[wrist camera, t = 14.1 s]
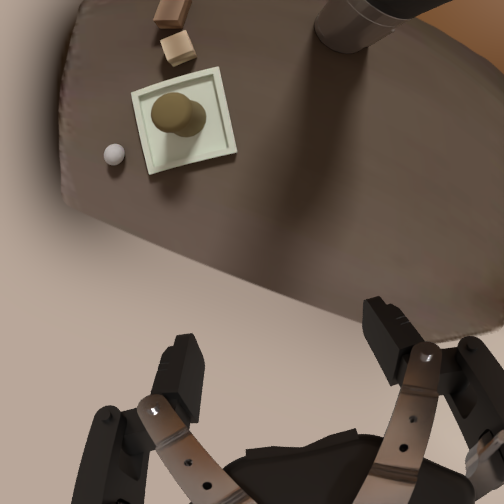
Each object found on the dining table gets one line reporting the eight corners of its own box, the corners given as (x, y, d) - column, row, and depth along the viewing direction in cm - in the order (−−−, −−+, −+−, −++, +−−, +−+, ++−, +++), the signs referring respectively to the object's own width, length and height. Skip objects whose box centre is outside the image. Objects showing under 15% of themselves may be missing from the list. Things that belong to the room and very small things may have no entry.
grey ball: (125, 140, 38) (116, 141, 35) (130, 160, 39) (121, 162, 36) (107, 147, 38) (98, 148, 35) (112, 166, 39) (103, 169, 36)
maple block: (190, 38, 32) (185, 30, 28) (197, 57, 33) (193, 49, 30) (166, 48, 32) (160, 40, 29) (173, 67, 34) (167, 60, 30)
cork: (212, 128, 38) (201, 123, 28) (175, 143, 38) (154, 144, 28) (198, 93, 35) (183, 78, 25) (162, 110, 36) (137, 101, 26)
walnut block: (192, 2, 29) (188, -9, 25) (182, 29, 31) (177, 20, 27) (169, 2, 28) (164, -8, 25) (159, 28, 31) (153, 20, 27)
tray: (219, 69, 34) (218, 66, 33) (237, 151, 40) (237, 152, 38) (134, 94, 35) (131, 92, 34) (152, 173, 40) (149, 174, 39)
